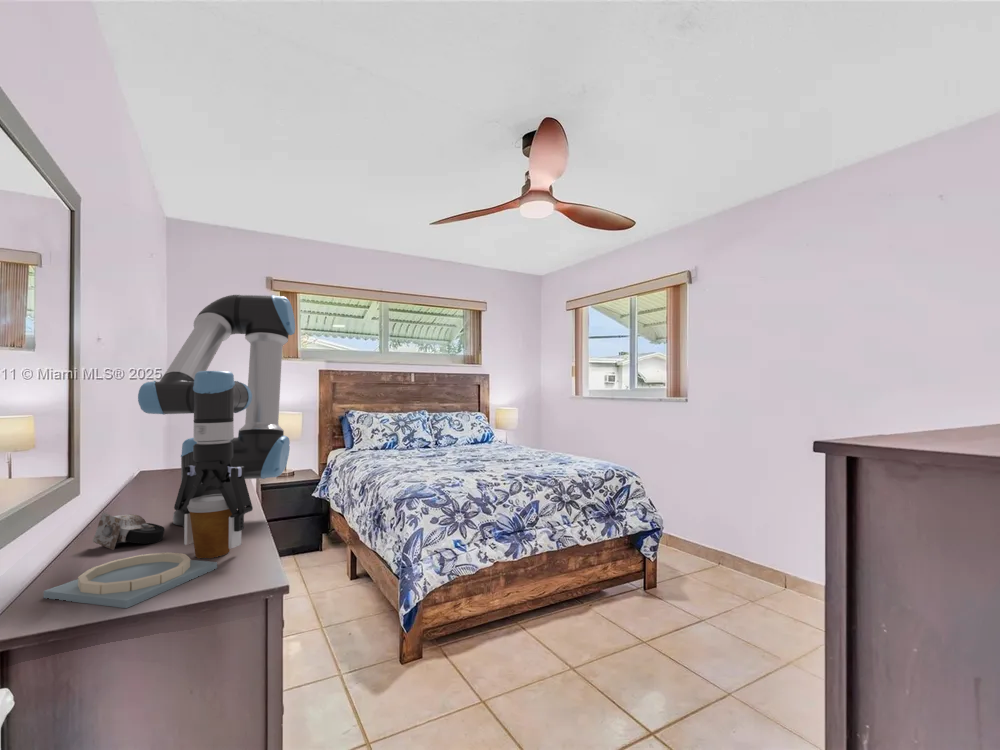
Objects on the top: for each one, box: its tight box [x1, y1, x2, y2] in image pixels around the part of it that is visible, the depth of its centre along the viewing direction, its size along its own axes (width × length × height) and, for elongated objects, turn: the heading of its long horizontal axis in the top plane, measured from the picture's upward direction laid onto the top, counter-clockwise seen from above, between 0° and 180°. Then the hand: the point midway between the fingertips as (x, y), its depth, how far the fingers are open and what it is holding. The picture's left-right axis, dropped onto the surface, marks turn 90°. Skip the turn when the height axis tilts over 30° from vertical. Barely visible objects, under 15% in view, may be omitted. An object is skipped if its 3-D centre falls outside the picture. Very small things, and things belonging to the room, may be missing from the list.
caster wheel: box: [92, 512, 166, 550], centre depth 113 cm, size 7×11×10 cm
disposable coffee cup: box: [187, 494, 232, 559], centre depth 104 cm, size 10×10×12 cm
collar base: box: [42, 551, 218, 609], centre depth 89 cm, size 18×18×3 cm
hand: (212, 544), depth 104 cm, fingers open, 11 cm apart
